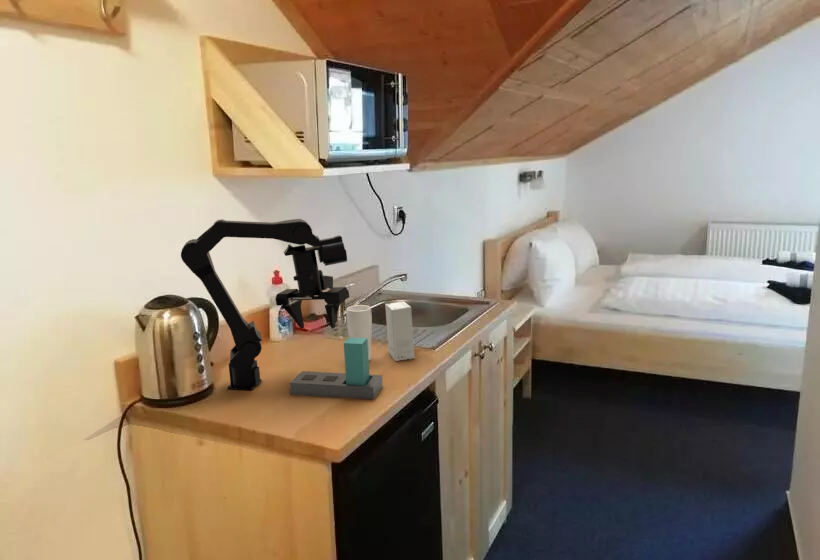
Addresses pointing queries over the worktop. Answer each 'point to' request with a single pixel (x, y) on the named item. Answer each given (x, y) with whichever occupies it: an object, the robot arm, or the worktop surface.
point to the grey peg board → (333, 385)
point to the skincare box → (400, 331)
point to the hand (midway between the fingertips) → (317, 328)
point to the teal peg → (356, 361)
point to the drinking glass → (360, 323)
